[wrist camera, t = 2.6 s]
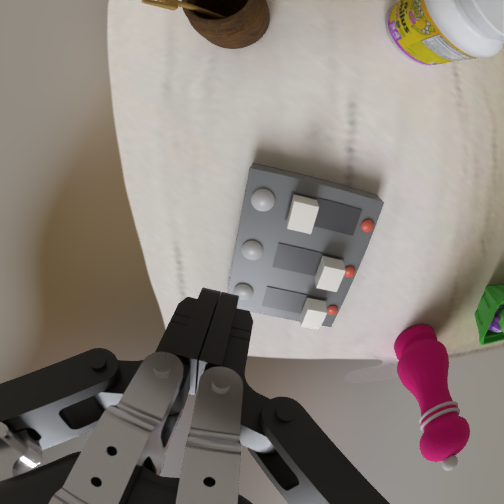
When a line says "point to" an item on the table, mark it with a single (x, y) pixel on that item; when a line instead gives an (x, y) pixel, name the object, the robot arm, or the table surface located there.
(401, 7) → the supplement bottle
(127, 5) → the table surface
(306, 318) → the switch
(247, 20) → the utensil holder
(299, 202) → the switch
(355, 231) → the switch panel
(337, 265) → the middle switch
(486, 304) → the fruit basket
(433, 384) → the pepper mill
